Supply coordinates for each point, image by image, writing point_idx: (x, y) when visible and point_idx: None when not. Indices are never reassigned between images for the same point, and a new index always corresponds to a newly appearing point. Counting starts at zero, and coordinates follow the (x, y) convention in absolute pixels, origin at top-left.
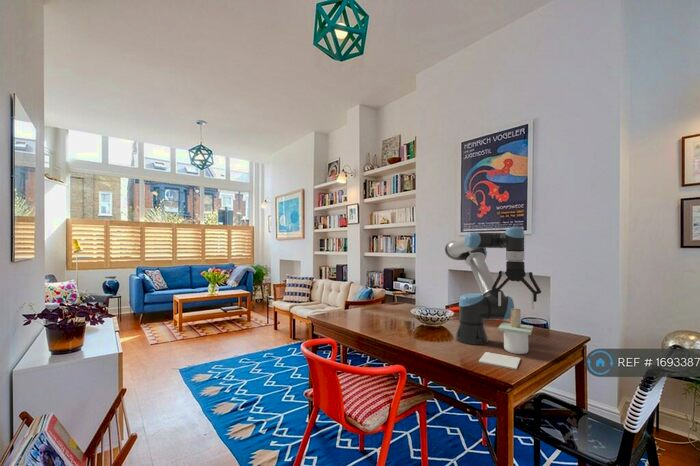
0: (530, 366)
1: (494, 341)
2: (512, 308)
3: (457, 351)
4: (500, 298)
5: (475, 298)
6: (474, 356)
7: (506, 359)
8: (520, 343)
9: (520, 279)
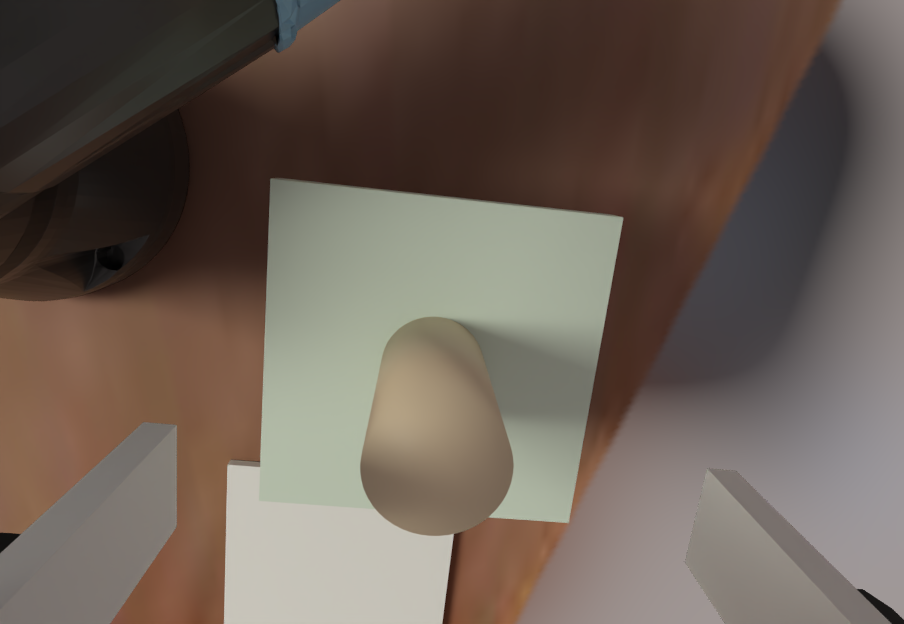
0: (511, 572)
1: (240, 76)
2: (387, 424)
3: None
4: (100, 580)
5: None
6: (178, 559)
7: (376, 554)
8: None
9: None
